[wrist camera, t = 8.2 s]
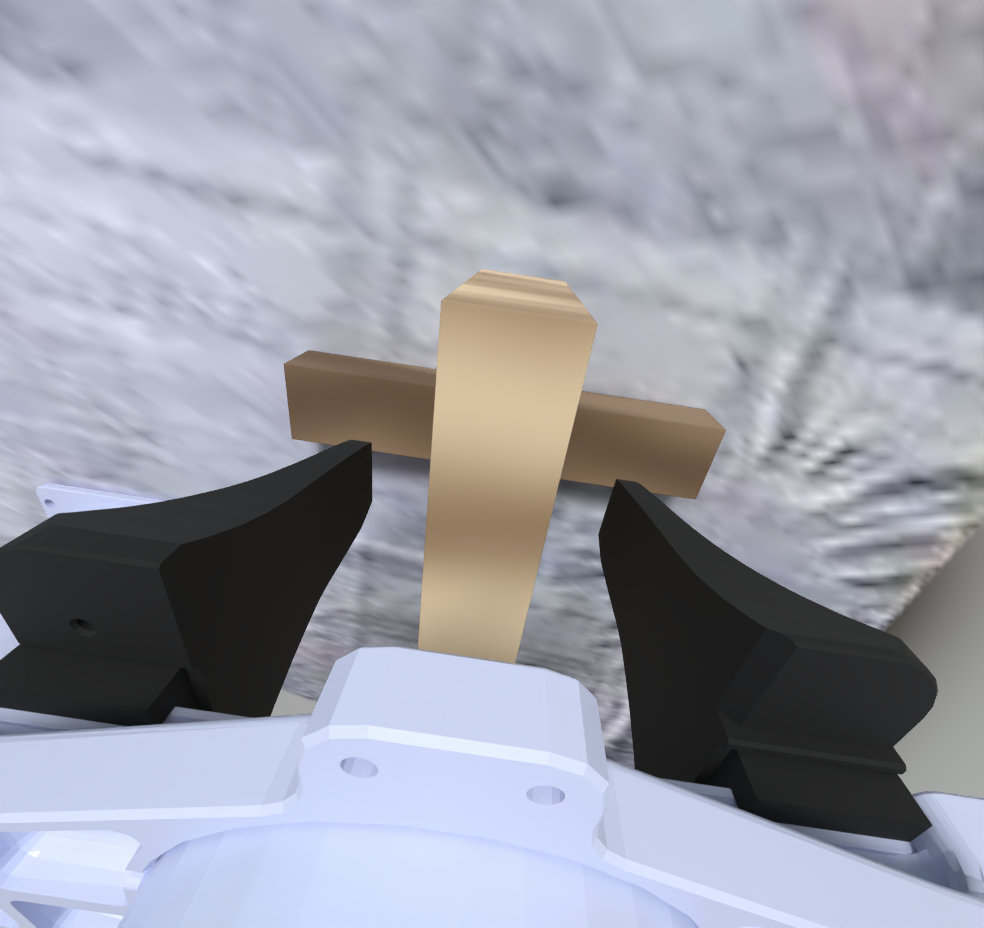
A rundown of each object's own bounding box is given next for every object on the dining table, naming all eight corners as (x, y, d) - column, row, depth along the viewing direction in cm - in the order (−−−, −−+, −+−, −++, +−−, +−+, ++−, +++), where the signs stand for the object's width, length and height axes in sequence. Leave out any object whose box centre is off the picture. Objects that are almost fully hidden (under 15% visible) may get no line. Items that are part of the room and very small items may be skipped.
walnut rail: (679, 473, 18) (695, 499, 17) (314, 419, 18) (291, 439, 17) (705, 409, 17) (725, 430, 15) (309, 350, 17) (283, 363, 15)
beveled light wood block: (516, 527, 20) (510, 681, 13) (454, 518, 20) (416, 667, 13) (565, 281, 15) (597, 323, 8) (481, 269, 15) (441, 300, 8)
